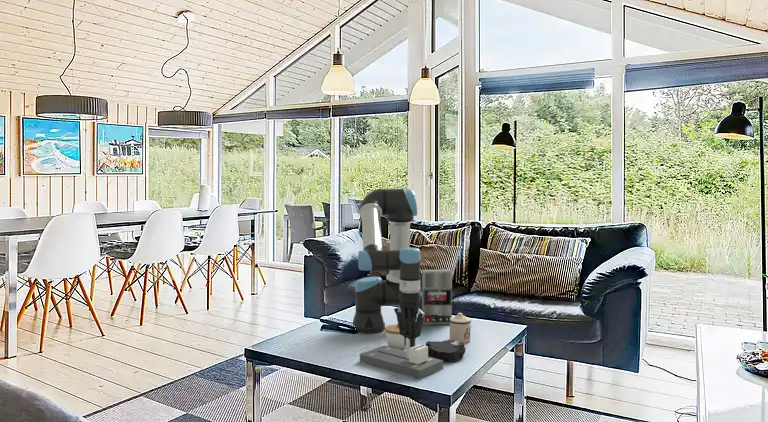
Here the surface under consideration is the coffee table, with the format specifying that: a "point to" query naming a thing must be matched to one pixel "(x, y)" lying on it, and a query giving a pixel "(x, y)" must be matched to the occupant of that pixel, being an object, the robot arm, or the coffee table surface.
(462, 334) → the teacup with lid
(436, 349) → the rock sample
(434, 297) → the cassette tape recorder
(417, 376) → the fader console
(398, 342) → the lidded jar
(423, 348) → the fader knob
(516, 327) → the coffee table surface
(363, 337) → the coffee table surface
